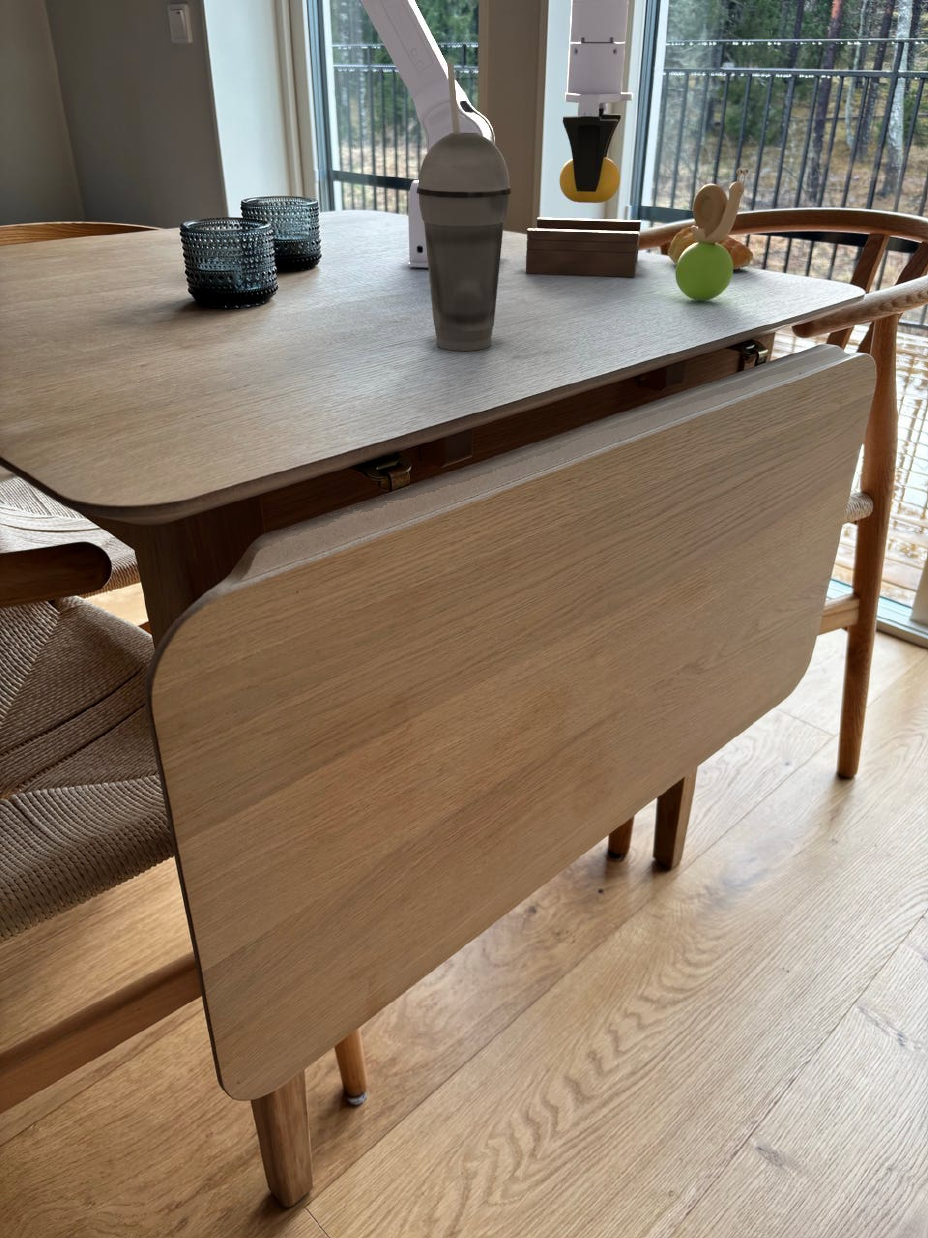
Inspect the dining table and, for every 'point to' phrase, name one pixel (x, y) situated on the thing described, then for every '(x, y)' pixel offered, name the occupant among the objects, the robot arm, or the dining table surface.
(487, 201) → the beverage cup
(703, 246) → the snail figurine
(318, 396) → the dining table surface
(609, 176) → the yellow oval piece
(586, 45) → the robot arm
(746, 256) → the pastry
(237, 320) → the dining table surface
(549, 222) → the brown blocks
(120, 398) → the dining table surface
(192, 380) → the dining table surface
